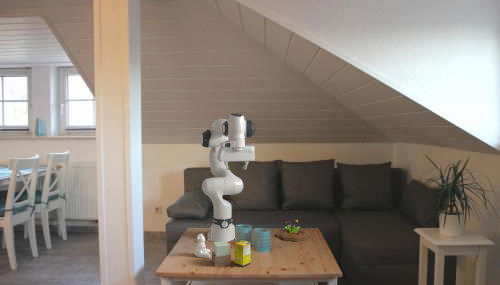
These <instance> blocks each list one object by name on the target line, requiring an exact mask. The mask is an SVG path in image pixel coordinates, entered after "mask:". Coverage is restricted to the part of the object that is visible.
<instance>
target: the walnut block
mask: <svg viewBox="0 0 500 285" xmlns="http://www.w3.org/2000/svg"><path fill="white" fill-rule="evenodd" d="M211 262H212V264H213V265H214V267H223V266H224V267H225V266H231V265H232V256H231V254H230V255H227V256H217V257H216V255H215V254H214V252H213V251H211Z"/></svg>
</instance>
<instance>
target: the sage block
mask: <svg viewBox="0 0 500 285" xmlns="http://www.w3.org/2000/svg"><path fill="white" fill-rule="evenodd" d="M212 242H213V245H212V246H213V251H212V252H214V254H215V255H216V257H217V256H227V255H231V244H230V243H229V241H228V242H227V241H222V242H215V241H212Z"/></svg>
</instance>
